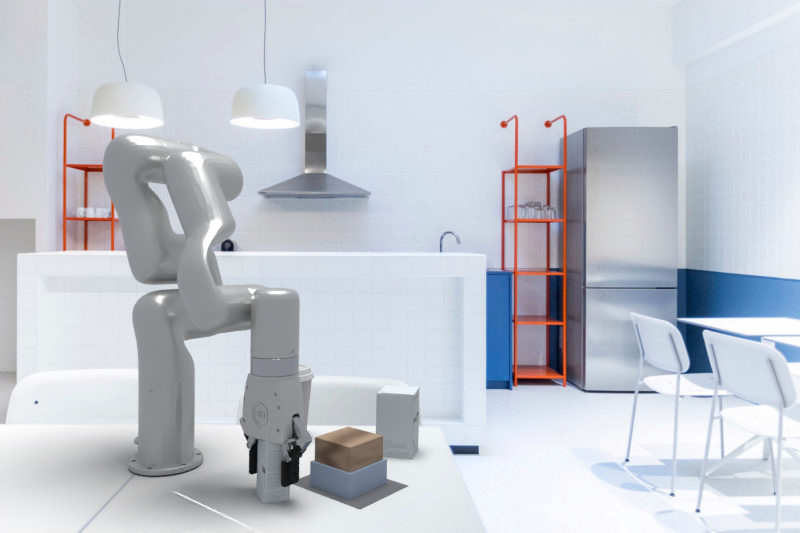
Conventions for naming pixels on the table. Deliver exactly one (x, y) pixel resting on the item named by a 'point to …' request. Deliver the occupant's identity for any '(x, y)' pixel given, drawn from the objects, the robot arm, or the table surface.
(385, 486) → the mat
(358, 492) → the tower base
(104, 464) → the table surface
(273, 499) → the skincare box
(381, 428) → the supplement box
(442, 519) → the table surface
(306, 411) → the coffee cup
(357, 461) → the tower top
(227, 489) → the table surface
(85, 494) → the table surface
